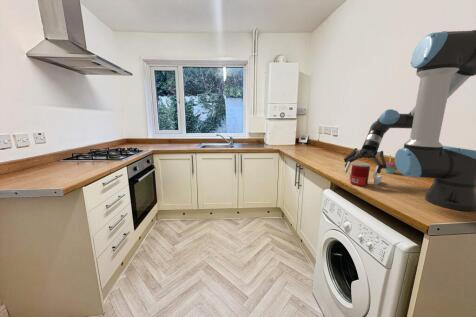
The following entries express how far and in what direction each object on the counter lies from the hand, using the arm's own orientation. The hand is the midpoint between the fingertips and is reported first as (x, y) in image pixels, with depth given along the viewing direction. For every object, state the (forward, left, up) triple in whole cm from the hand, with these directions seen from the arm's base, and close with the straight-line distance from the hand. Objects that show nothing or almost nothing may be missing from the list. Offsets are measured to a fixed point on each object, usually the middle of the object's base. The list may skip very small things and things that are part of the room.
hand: (359, 174), depth 106 cm
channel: (+7, -8, -5) cm, 12 cm away
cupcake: (+25, -38, -5) cm, 45 cm away
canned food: (0, 0, -6) cm, 6 cm away
